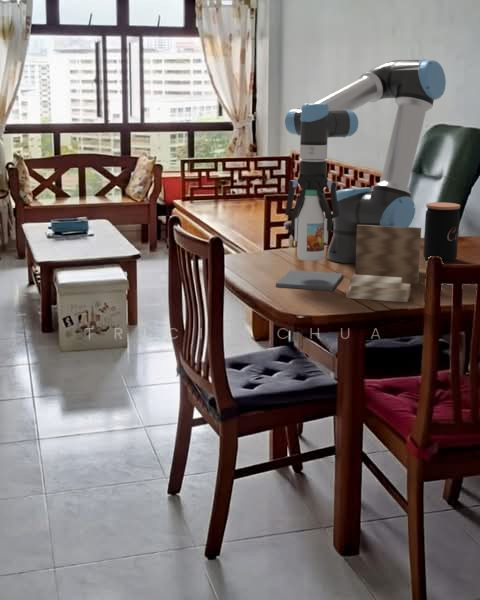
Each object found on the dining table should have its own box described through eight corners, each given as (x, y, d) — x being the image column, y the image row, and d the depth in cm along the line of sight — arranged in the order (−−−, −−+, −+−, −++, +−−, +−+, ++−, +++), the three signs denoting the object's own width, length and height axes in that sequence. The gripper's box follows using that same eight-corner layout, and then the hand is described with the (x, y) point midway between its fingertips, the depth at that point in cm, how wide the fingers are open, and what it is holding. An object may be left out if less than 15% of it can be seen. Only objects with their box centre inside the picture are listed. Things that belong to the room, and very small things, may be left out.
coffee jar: (450, 264, 267) (454, 207, 263) (418, 260, 273) (421, 205, 268) (460, 258, 276) (464, 203, 272) (429, 255, 282) (432, 201, 277)
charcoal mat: (275, 286, 236) (275, 283, 236) (290, 273, 253) (290, 270, 253) (332, 290, 232) (332, 287, 232) (342, 276, 249) (343, 273, 249)
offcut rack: (342, 297, 225) (344, 238, 221) (357, 276, 249) (359, 223, 245) (410, 302, 220) (414, 242, 216) (419, 280, 244) (422, 226, 240)
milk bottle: (295, 261, 238) (297, 190, 233) (298, 255, 245) (300, 187, 240) (323, 262, 237) (325, 190, 232) (325, 256, 244) (327, 187, 239)
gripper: (274, 160, 233) (273, 241, 239) (347, 162, 228) (344, 245, 233) (280, 158, 240) (279, 237, 246) (352, 160, 235) (349, 240, 240)
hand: (311, 241), depth 240 cm, fingers closed on milk bottle, 8 cm apart
